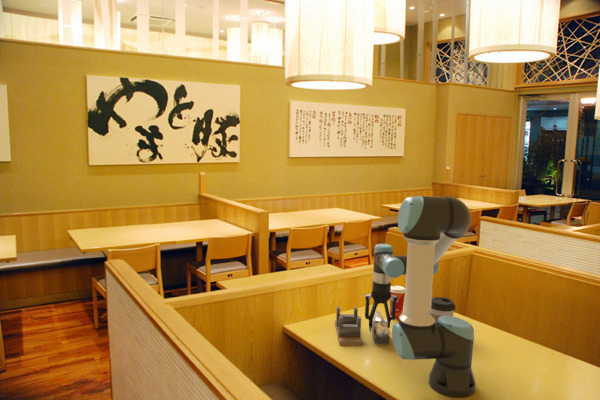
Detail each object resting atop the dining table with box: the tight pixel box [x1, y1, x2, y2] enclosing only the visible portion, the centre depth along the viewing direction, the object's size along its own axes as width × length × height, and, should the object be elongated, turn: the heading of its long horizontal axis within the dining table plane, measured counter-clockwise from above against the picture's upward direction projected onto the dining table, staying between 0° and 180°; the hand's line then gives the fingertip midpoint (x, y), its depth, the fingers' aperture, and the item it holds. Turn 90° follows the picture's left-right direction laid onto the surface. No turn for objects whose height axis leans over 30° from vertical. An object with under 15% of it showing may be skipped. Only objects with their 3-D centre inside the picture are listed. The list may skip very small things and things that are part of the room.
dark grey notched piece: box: [334, 306, 363, 346], centre depth 203 cm, size 22×9×10 cm, turn 1°
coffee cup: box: [431, 296, 457, 323], centre depth 205 cm, size 11×11×15 cm
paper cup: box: [389, 285, 405, 320], centre depth 224 cm, size 8×8×14 cm
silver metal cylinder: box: [373, 310, 391, 339], centre depth 201 cm, size 18×5×5 cm, turn 1°
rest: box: [368, 326, 391, 345], centre depth 201 cm, size 15×6×3 cm, turn 1°
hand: (378, 334), depth 201 cm, fingers closed on silver metal cylinder, 5 cm apart
